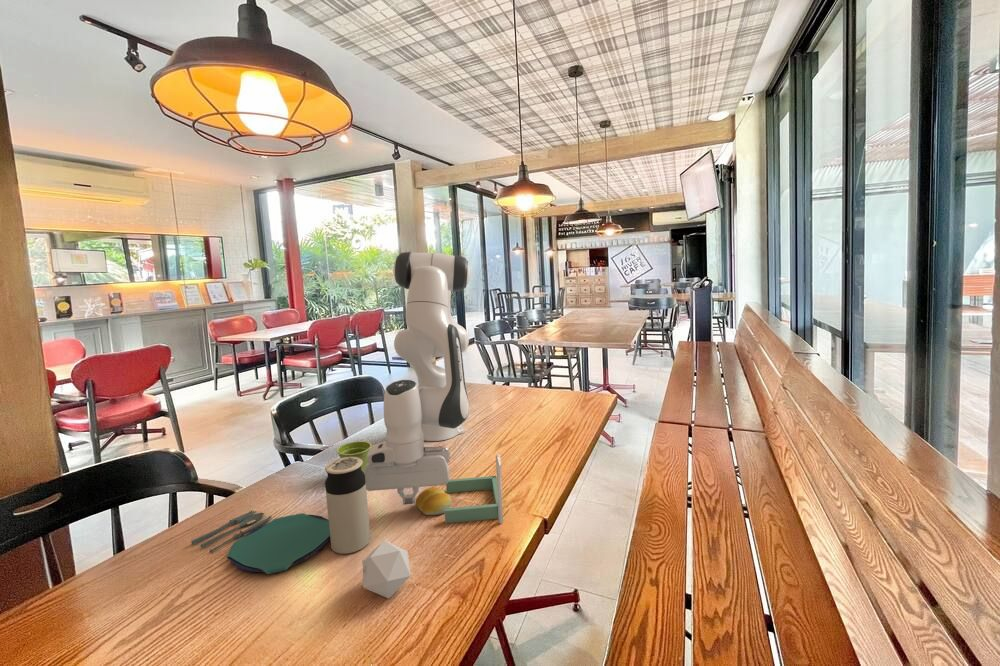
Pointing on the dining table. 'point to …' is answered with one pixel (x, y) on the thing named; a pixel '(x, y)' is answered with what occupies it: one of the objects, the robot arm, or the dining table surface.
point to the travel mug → (347, 505)
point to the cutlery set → (273, 541)
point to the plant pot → (355, 451)
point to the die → (386, 569)
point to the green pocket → (480, 510)
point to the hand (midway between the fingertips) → (409, 503)
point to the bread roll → (433, 501)
